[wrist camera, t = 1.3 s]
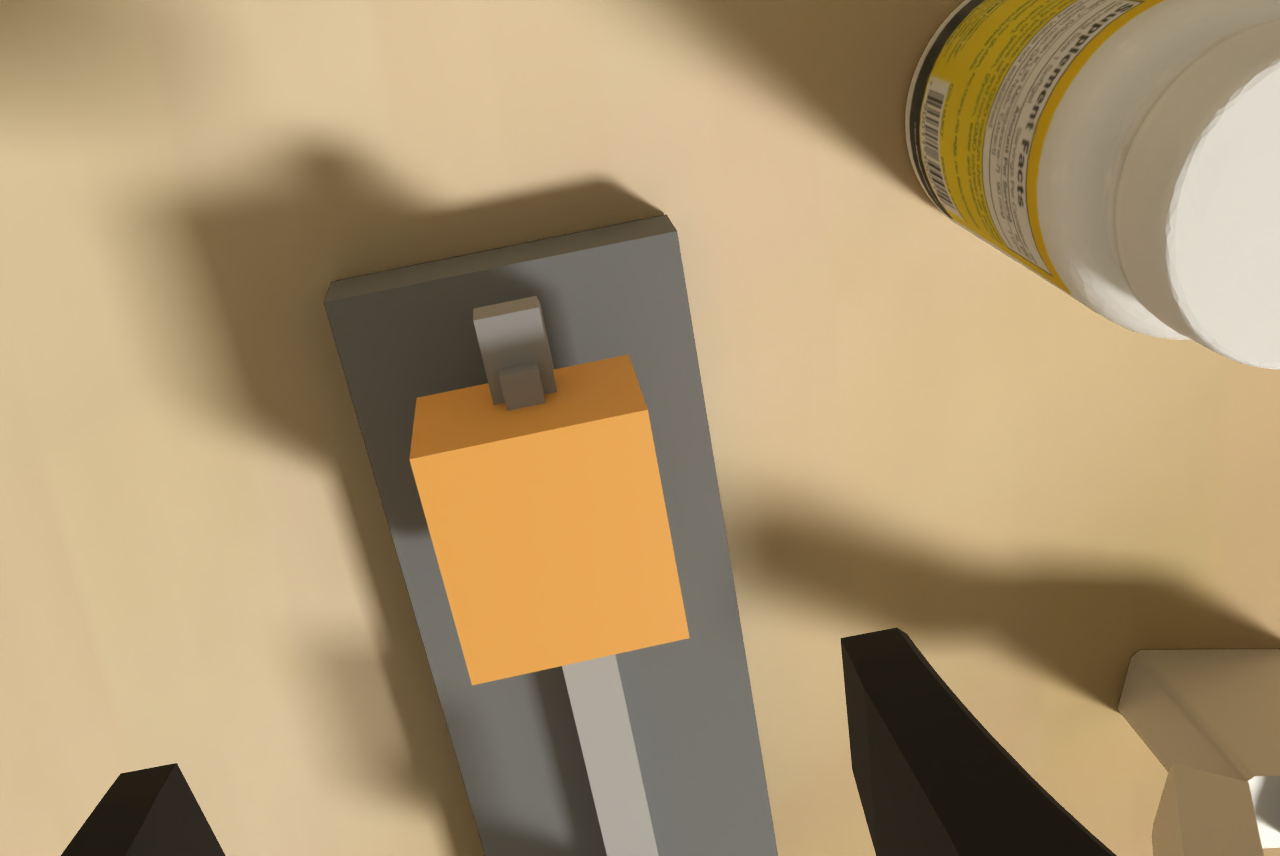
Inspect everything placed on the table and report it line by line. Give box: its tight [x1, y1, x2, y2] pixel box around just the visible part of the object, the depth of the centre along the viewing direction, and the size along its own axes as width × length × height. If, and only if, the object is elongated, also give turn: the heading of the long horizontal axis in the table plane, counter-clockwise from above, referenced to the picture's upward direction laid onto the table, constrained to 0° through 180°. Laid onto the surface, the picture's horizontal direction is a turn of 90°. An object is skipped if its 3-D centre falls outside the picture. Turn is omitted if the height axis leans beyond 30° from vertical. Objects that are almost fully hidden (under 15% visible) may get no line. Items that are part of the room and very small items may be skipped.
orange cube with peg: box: [409, 296, 690, 685], centre depth 19 cm, size 5×4×2 cm, turn 9°
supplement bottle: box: [905, 0, 1280, 369], centre depth 18 cm, size 5×5×8 cm
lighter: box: [1118, 649, 1280, 856], centre depth 23 cm, size 7×2×8 cm, turn 85°
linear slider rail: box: [324, 215, 778, 856], centre depth 22 cm, size 15×6×6 cm, turn 10°
